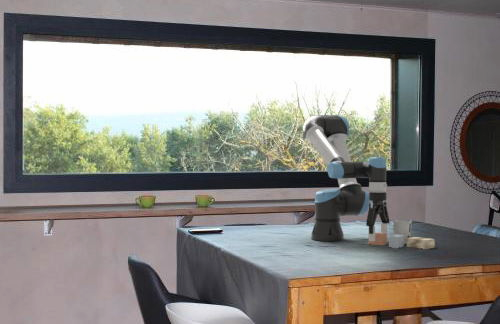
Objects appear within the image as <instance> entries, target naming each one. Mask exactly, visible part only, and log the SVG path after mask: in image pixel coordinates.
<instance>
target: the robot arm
mask: <svg viewBox="0 0 500 324" xmlns="http://www.w3.org/2000/svg"><path fill="white" fill-rule="evenodd" d="M350 128H351V127H350V124H349V121H348V119H347V118H346V117H345V116H343V115H338V114H333V115H329V114H328V115H326V114H324V115H323V114H313V115H311V116H309V117H308V118H307V119H306V120H305V121H304V123H303V126H302V135H303V137H304V138H305V139H306V141H307V142H308V143H310V144H312V147H314V149H315V150H316V152H317V153H318V154H319V155H320V156H321V158H322V159H323V161H324V162H325V164H326V165H327V167H326V170H327V174H328V177H329V178H331V179H337V182H338V183H337V184H338V186H339V188H326V189H320V190H318V191H316V193H315V195H314V225H313V228H312V231H311V233H310V234H311V238H310V239H311V240H314V241H320V242H321V241H323V242H337V241H338V242H339V241H342V240H345V236H344V231H343V227H342V225H341V217H349V216H350V217H351V216H355V217H357V216H364V215H365V214H366V213H367V218H366V223H365V225H366V227H368V233H369V241H375V232H376V226H375V223H376V220H377V217H378V216H379V218H380V221H381V223H380V233H387V234H388V224H390V217H389V212H388V206H387V192H386V191H387V187H388V184H387V159H386V158H385V156H377V157H375V156H371V157H369V159H368V161H361V160H360V161H352V160H351V156H350V153H349V149H348V146H347V142H346V141H347V140H348V137H349V135H350ZM357 179H368V181H369V182H368V191H369V192H368V191H367V190H365V189H363V188H362V185H361V184H360V183H358V181H357ZM371 201H372V203H371Z"/></svg>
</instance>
